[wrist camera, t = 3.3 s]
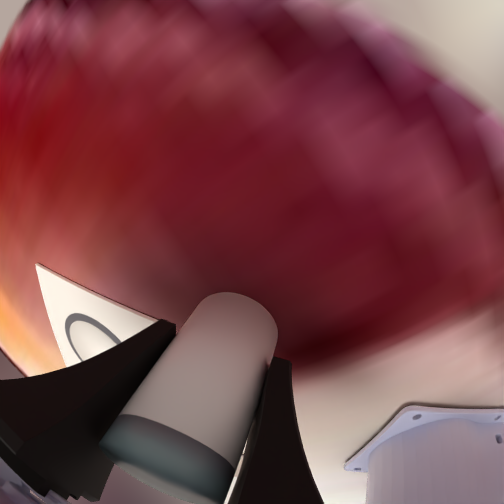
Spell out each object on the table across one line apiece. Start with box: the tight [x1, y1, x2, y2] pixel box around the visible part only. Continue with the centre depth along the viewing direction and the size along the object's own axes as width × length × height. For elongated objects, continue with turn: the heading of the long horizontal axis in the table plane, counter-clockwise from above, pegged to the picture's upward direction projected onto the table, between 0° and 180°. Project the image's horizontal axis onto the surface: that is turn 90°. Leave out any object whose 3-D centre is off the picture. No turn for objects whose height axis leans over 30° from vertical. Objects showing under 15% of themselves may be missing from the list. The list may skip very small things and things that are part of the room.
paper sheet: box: [36, 263, 158, 367], centre depth 15 cm, size 10×10×1 cm
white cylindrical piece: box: [99, 292, 278, 504], centre depth 8 cm, size 4×4×7 cm
